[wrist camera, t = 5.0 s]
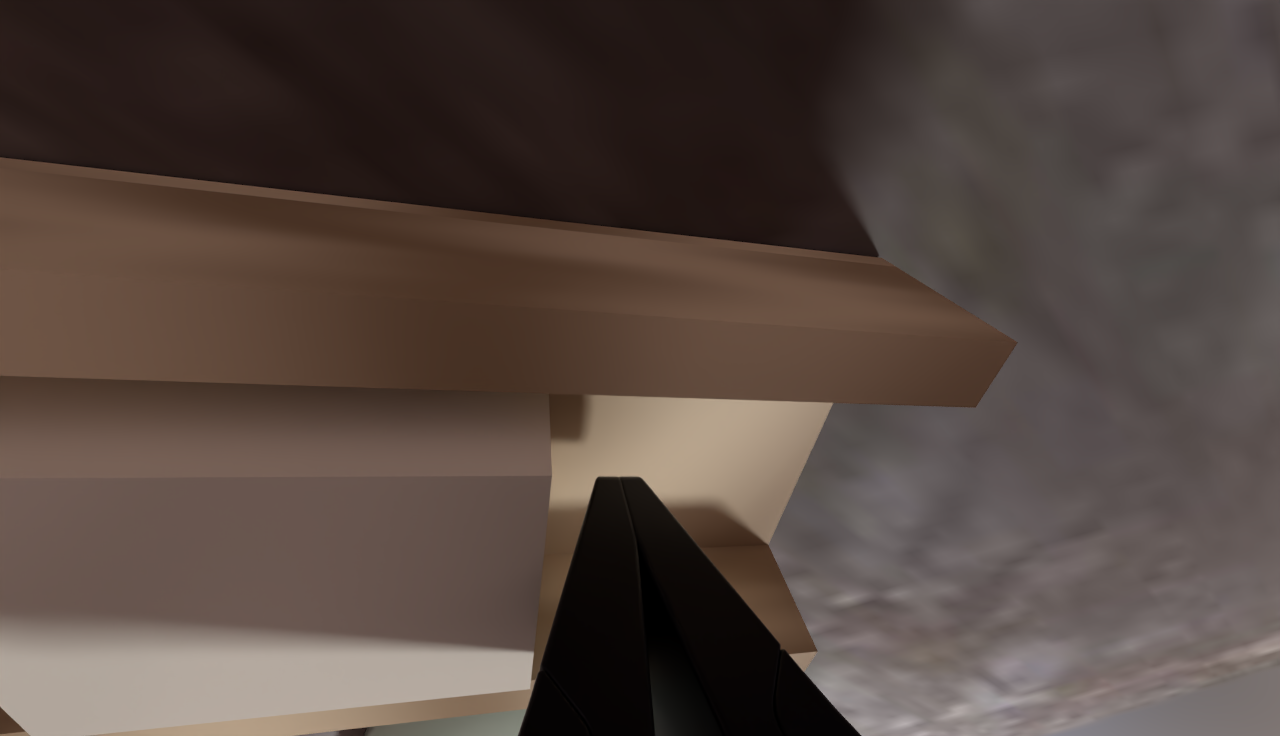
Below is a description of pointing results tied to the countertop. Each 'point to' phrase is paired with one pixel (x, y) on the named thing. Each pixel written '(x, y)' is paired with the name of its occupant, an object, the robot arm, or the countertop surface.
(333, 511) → the cream block
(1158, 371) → the countertop surface
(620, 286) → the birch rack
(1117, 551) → the countertop surface
